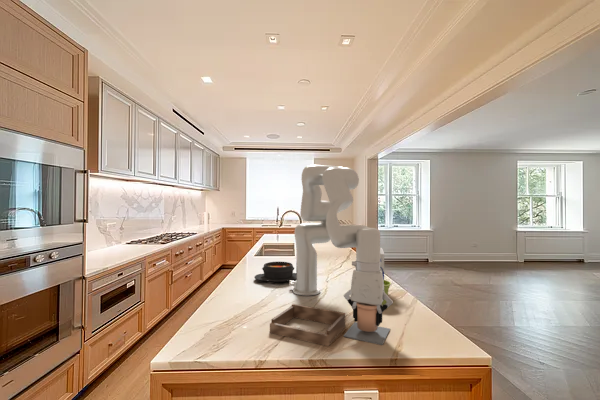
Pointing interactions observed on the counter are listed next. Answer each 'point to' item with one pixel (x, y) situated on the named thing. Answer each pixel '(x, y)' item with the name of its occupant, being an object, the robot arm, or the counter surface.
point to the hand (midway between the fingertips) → (367, 321)
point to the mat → (367, 334)
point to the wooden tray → (310, 314)
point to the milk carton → (382, 261)
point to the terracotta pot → (366, 317)
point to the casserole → (277, 272)
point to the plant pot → (386, 289)
